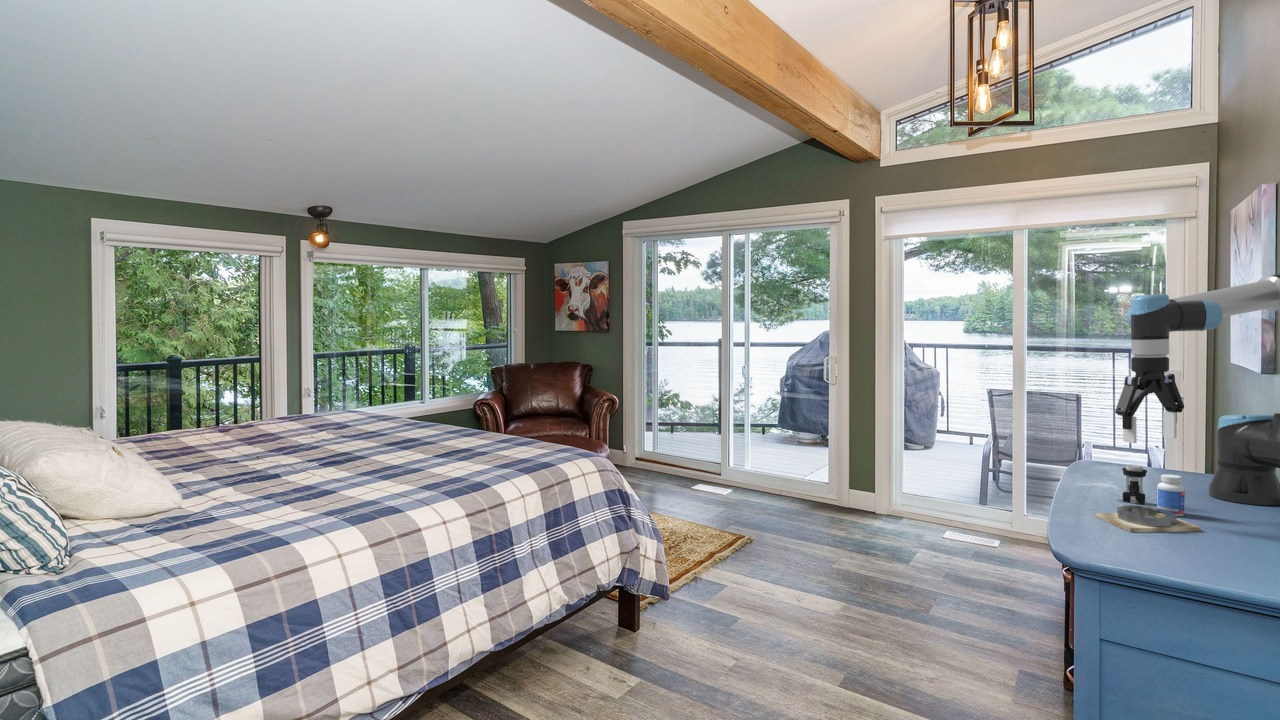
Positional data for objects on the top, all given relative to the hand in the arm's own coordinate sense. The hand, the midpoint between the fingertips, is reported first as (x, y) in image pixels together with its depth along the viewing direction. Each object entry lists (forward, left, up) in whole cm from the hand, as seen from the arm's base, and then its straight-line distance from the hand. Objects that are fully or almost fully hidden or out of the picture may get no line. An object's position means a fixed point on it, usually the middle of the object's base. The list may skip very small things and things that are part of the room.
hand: (1150, 439), depth 163 cm
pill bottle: (-5, 0, -19) cm, 20 cm away
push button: (-3, -11, -19) cm, 23 cm away
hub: (+7, +8, -19) cm, 22 cm away
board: (+7, +8, -19) cm, 22 cm away
